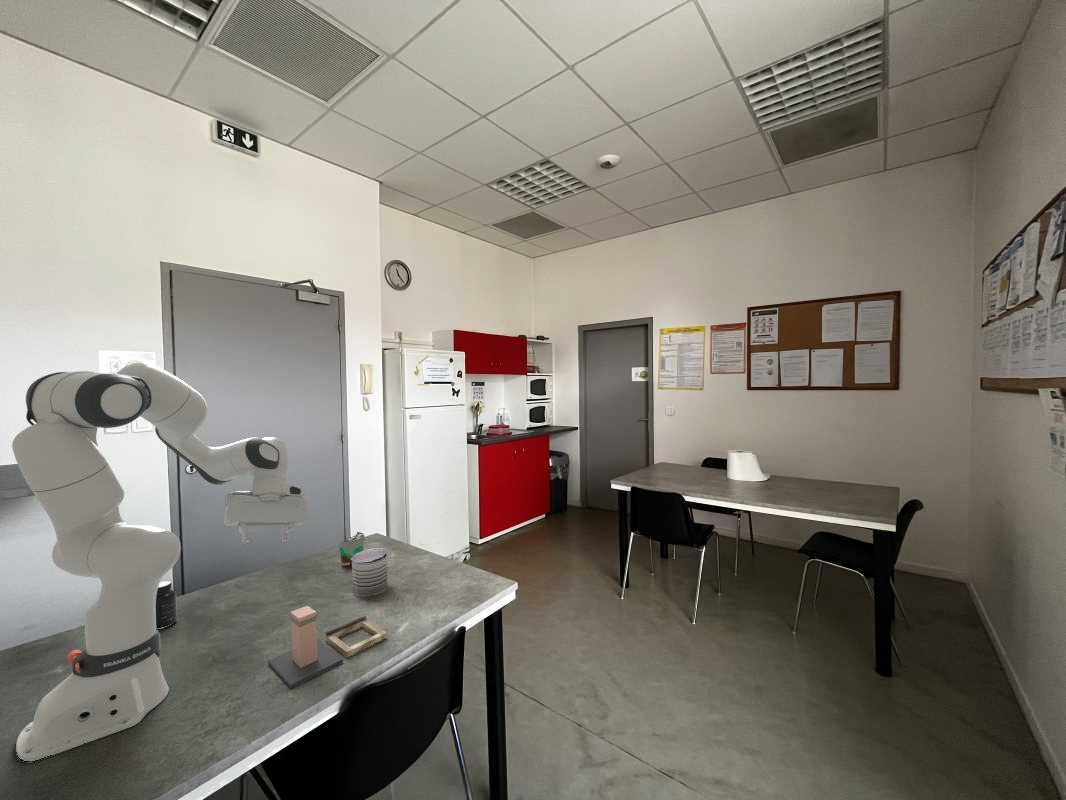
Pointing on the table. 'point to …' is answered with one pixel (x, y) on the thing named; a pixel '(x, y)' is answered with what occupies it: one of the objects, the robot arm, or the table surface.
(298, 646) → the block
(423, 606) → the table surface
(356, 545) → the food container
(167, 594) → the supplement bottle
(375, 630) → the frame
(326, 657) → the mat
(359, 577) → the can
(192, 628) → the table surface
